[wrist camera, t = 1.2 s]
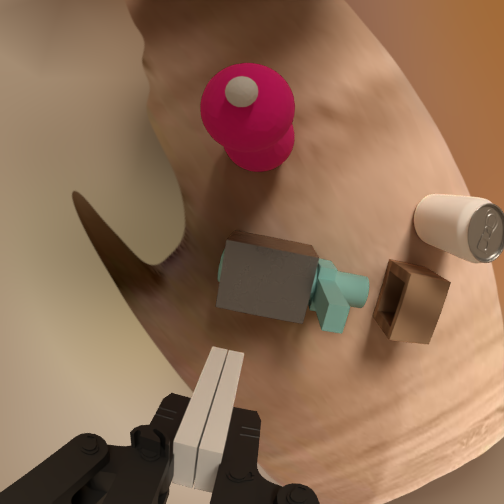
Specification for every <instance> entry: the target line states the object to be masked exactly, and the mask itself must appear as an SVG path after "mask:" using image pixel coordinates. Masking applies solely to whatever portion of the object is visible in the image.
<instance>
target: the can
mask: <svg viewBox="0 0 504 504" xmlns="http://www.w3.org/2000/svg"><path fill="white" fill-rule="evenodd" d="M414 226H415V230H416V232H417V234H418V236H419V237H420V239H421V240H422V241H424V242H425V243H427V244H429V245H431V246H434V247H436V248H438V249H441V250H443V251H445V252H448V253H450V254H452V255H455V256H457V257H459V258H462V259H464V260H466V261H469V262H472V263H489V262H492V261H494V260H495V259H496V258H497V257H499V255H500V254H501V253H502V251H503V249H504V213H503V211H502V210H501V209H500V208H499V207H498V206H497V205H495V204H493V203H491V202H490V201H488V200H487V199H483V198H478V197H470V196H459V195H446V194H430V195H428V196H426V197H424V198H423V199H422V200H421V201H420V202H419V204H418V205H417V207H416V210H415V214H414Z"/></svg>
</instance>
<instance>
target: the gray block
mask: <svg viewBox="0 0 504 504" xmlns="http://www.w3.org/2000/svg"><path fill="white" fill-rule="evenodd" d="M318 261H319V257H318V255H317V253H316V252H315V250H314V248H313V247H312V245H307V244H302V243H298V242H293V241H288V240H282V239H277V238H272V237H267V236H262V235H257V234H252V233H247V232H242V231H235V232H234V233H233V234H232V235H231V236H230V237H229V238H228V239H227V240H226V246H225V252H224V258H223V264H222V270H221V276H220V282H219V289H218V295H217V301H216V307H219V308H224V309H228V310H233V311H238V312H243V313H248V314H253V315H258V316H263V317H268V318H273V319H279V320H284V321H290V322H295V323H301V324H303V321H304V317H305V313H306V310H307V306H308V302H309V298H310V294H311V290H312V286H313V282H314V278H315V274H316V270H317V265H318Z"/></svg>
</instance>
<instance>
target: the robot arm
mask: <svg viewBox="0 0 504 504" xmlns="http://www.w3.org/2000/svg"><path fill="white" fill-rule="evenodd" d="M227 351H228V350H227V349H222V348H218V347H213V346H212V349H211V351H210V354H209V356H208V358H207V361H206V363H205V366H204V368H203V371H202V373H201V376H200V378H199V380H198V383H197V385H196V388H195V390H194V393H193V395H192V398H188V397H185V396H181V395H178V394H174V393H171V394H169V395H168V396H167V397H165V398H164V399H163V400H162V402H161V404H160V406H159V408H158V410H157V412H156V414H155V415H154V417H153V419H152V421H151V423H150V425H141V426H138V427H136V428H134V429H133V430H132V431H131V432H130V435H131V446H114V445H107V443H106V441H105V440H104V439H103V438H102V437H100V436H98V435H96V434H91V433H85V434H80V435H78V436H76V437H75V438H73V439H72V440H71V441H70V442H68V443H67V444H66V445H64V446H63V447H62V448H60V449H59V450H58V451H56V452H55V453H54V454H52V455H51V456H50V457H49V458H47V459H46V460H44V461H43V462H42V463H40V464H39V465H38V466H36V467H35V468H34V469H32V470H31V471H30V472H28V473H27V474H25V475H24V476H23V477H21V478H20V479H19V480H17V481H16V482H14V483H13V484H12V485H10V486H9V487H7V488H6V489H5V490H3V491H2V492H0V504H166V501H167V498H168V495H169V486H170V484H171V481H172V482H173V483H175V484H179V485H182V486H186V487H190V488H192V487H193V484H194V480H195V484H194V489H199V490H203V491H207V492H212V497H211V501H210V504H319V501H318V498H317V496H316V494H315V493H314V491H313V490H312V489H310V488H309V487H308V486H305V485H302V484H293V483H292V484H288V485H285V486H284V487H282V486H279V485H276V484H274V483H271V482H269V481H267V480H266V479H264V478H263V477H262V476H261V475H260V473H259V471H258V469H257V458H258V448H259V437H260V426H261V419H260V417H259V415H258V413H257V411H252V410H246V409H241V408H236V407H233V405H234V400H235V396H236V391H237V386H238V381H239V377H240V372H241V367H242V362H243V357H244V353H241V352H236V351H232V350H229V352H228V355H227ZM226 356H227V358H226ZM172 478H173V480H172Z"/></svg>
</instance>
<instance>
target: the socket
mask: <svg viewBox="0 0 504 504" xmlns="http://www.w3.org/2000/svg"><path fill="white" fill-rule="evenodd" d="M450 283H451V282H449V281H448V280H446V279H444V278H443V277H441V276H439V275H438V274H436V273H434V272H433V271H431V270H429V269H428V268H426V267H423V266H418V265H414V264H409V263H405V262H400V261H396V260H391V259H389V262H388V266H387V270H386V274H385V277H384V281H383V284H382V288H381V291H380V294H379V298H378V301H377V304H376V307H375V310H374V313H373V317H374V319H375V320H376V321H377V323H378V324H379V326H380V327H381V329H382V330H383V332H384V333H385V334H386V336H387V337H388V339H389V340H393V341H401V342H410V343H420V344H429V342H430V340H431V337H432V335H433V332H434V330H435V327H436V324H437V322H438V319H439V316H440V314H441V311H442V308H443V305H444V302H445V299H446V296H447V293H448V290H449V287H450Z"/></svg>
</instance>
